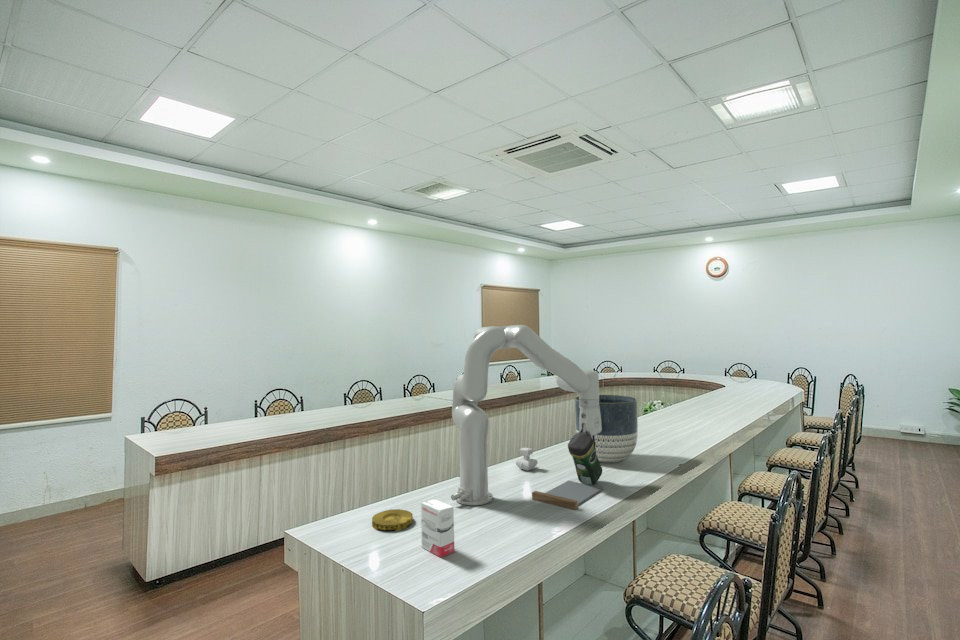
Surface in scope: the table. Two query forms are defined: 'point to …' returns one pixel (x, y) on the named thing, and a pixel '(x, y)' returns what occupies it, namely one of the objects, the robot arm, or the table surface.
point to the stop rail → (555, 500)
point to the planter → (614, 427)
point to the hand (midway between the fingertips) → (590, 452)
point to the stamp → (526, 460)
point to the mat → (575, 491)
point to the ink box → (437, 527)
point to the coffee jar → (585, 458)
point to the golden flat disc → (392, 520)
